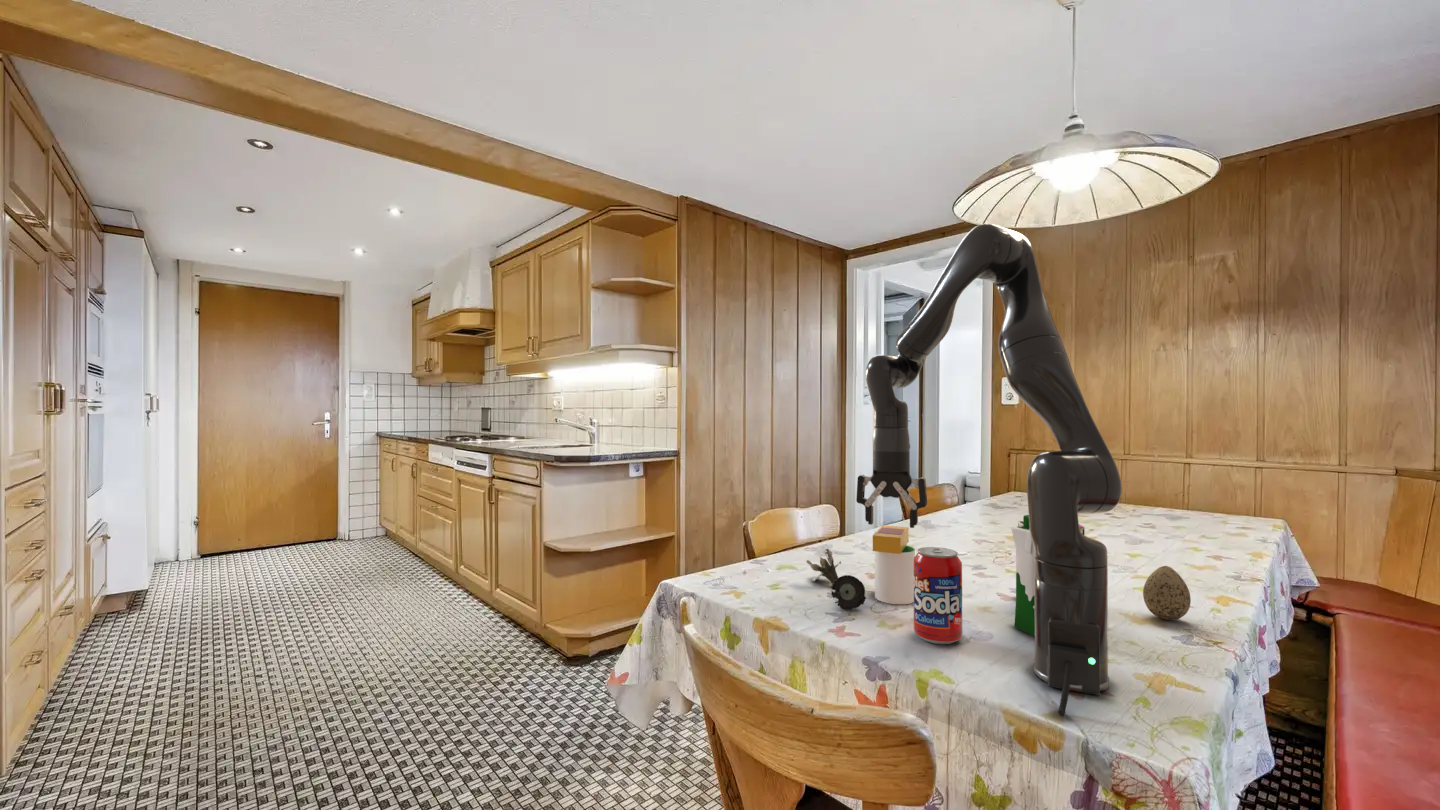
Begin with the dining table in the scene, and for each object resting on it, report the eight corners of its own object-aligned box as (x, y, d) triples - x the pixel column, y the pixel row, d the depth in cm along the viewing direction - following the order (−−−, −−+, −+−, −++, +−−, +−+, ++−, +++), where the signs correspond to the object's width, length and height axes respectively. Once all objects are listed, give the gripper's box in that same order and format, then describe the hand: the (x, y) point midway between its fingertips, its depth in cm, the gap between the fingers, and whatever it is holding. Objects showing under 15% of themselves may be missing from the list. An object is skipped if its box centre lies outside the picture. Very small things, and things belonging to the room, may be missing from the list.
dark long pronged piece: (826, 617, 116) (811, 566, 117) (814, 595, 138) (802, 552, 140) (870, 605, 116) (855, 554, 117) (851, 585, 138) (839, 542, 139)
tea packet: (900, 553, 119) (900, 537, 119) (872, 551, 121) (872, 535, 121) (908, 541, 130) (908, 526, 130) (882, 539, 132) (882, 524, 132)
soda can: (959, 632, 105) (959, 547, 105) (965, 649, 97) (964, 557, 97) (912, 627, 107) (912, 544, 107) (914, 644, 99) (914, 554, 99)
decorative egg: (1137, 611, 116) (1137, 560, 116) (1180, 615, 114) (1180, 562, 114) (1151, 623, 109) (1151, 569, 109) (1198, 628, 107) (1197, 572, 107)
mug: (865, 586, 132) (865, 539, 132) (901, 586, 132) (901, 539, 132) (881, 604, 120) (881, 552, 120) (920, 604, 120) (920, 552, 120)
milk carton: (1045, 621, 110) (1045, 513, 110) (1087, 639, 102) (1087, 522, 102) (1006, 625, 108) (1005, 515, 108) (1045, 644, 99) (1045, 525, 99)
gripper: (853, 449, 126) (853, 526, 125) (924, 450, 120) (924, 531, 119) (860, 447, 132) (861, 520, 132) (928, 449, 126) (928, 525, 126)
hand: (891, 525), depth 126 cm, fingers open, 8 cm apart
